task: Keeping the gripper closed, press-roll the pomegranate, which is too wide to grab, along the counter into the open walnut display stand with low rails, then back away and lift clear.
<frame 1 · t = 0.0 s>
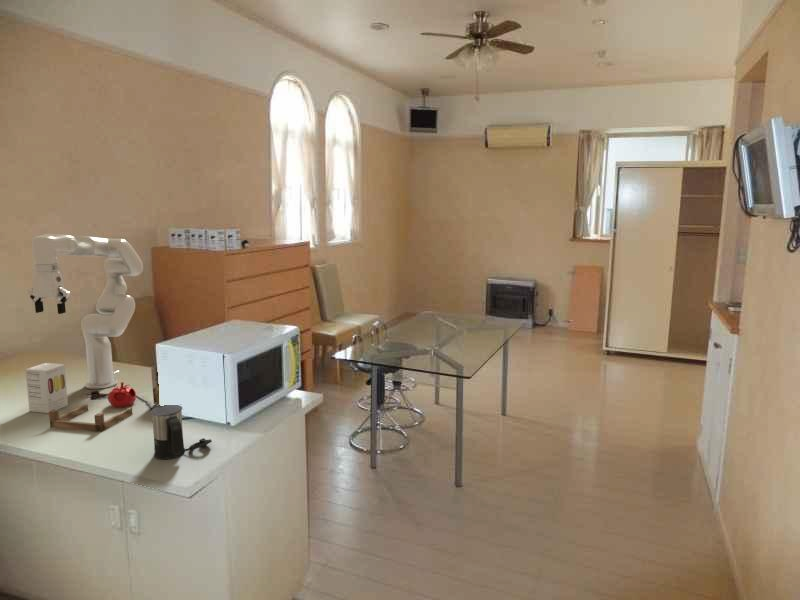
hand: (50, 312, 209), 37 cm above the countertop, tool pointing down, fingers open, 9 cm apart
supplement box: (49, 408, 210), on the countertop
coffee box: (167, 405, 216), on the countertop
display stand: (92, 420, 199), on the countertop
pomegranate: (122, 405, 215), on the countertop
milk frother: (183, 451, 176), on the countertop
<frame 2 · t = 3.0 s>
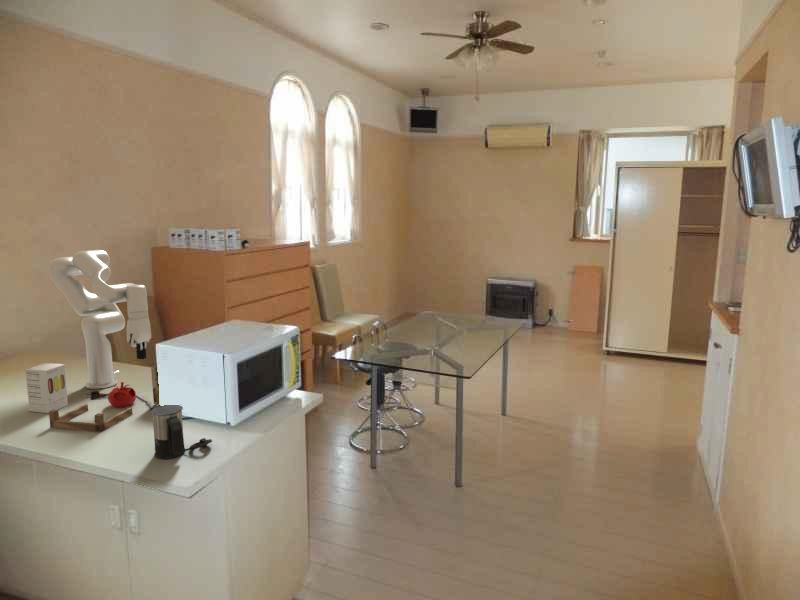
hand: (141, 358, 225), 15 cm above the countertop, tool pointing down, fingers closed
nothing on the countertop moved.
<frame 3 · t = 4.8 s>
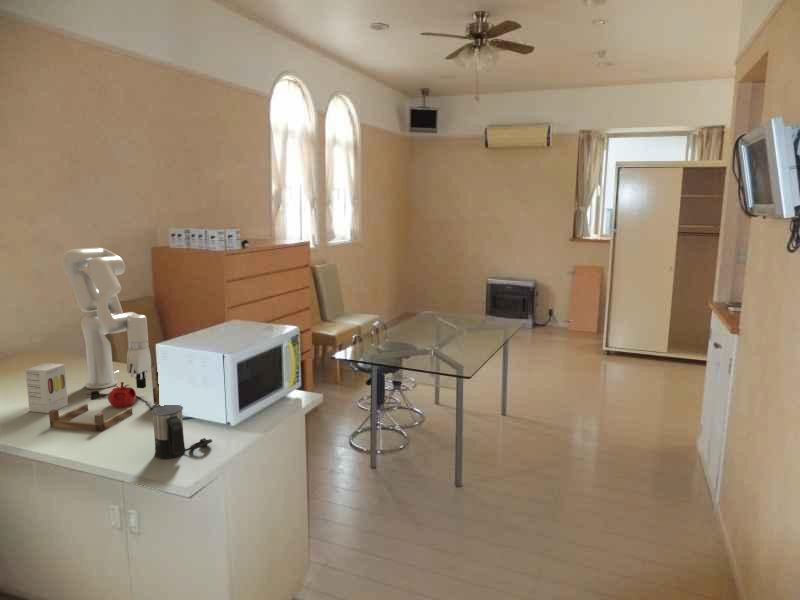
hand: (141, 387, 226), 3 cm above the countertop, tool pointing down, fingers closed
nothing on the countertop moved.
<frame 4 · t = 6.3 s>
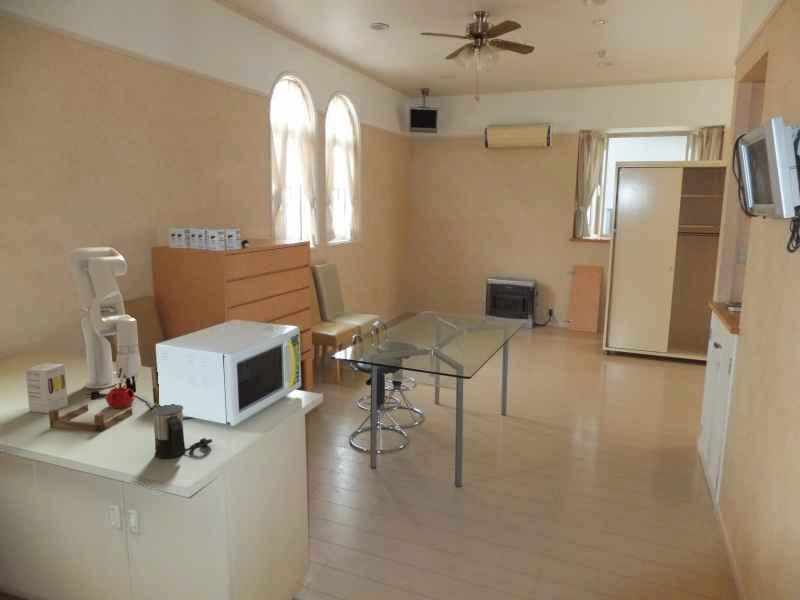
hand: (131, 392, 220), 3 cm above the countertop, tool pointing down, fingers closed
pomegranate: (120, 406, 214), on the countertop, touching gripper
everything else where it was.
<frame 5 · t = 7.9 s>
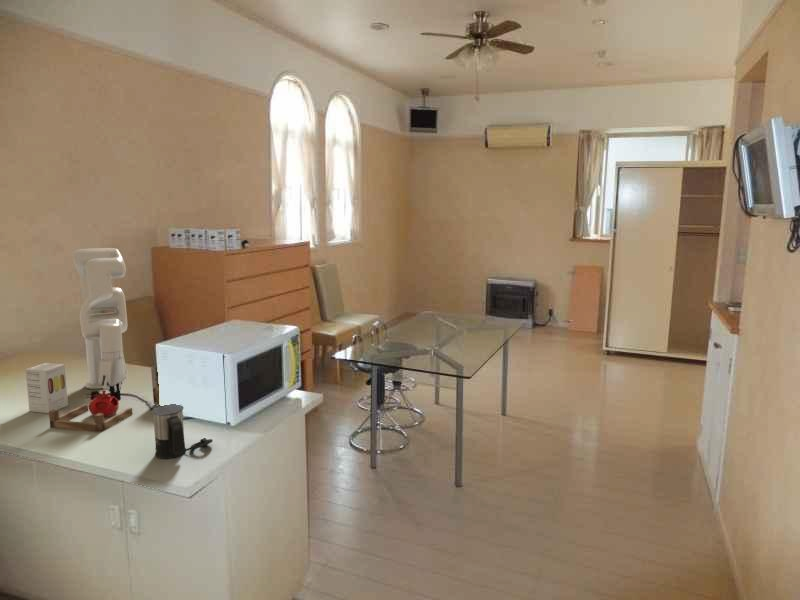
hand: (115, 400, 211), 3 cm above the countertop, tool pointing down, fingers closed
pomegranate: (104, 415, 205), on the countertop, touching gripper
everything else where it was.
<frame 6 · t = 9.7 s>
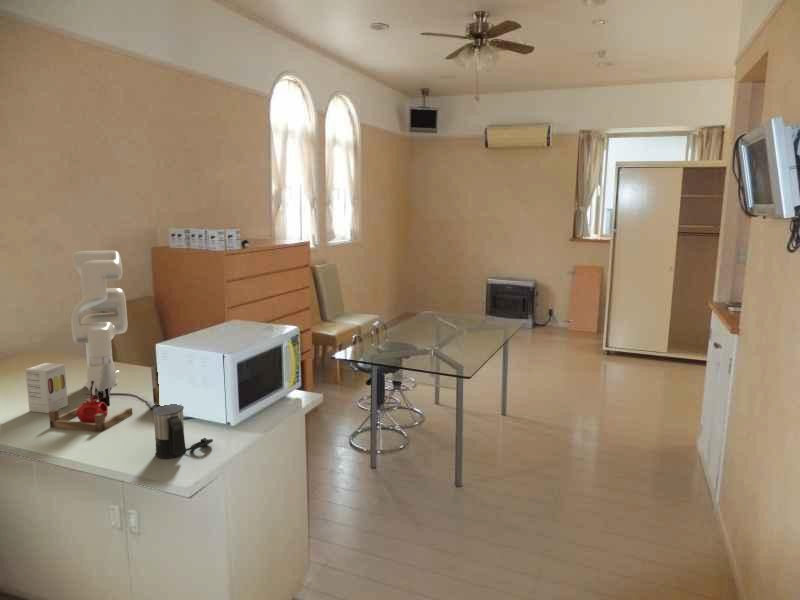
hand: (104, 406, 205), 3 cm above the countertop, tool pointing down, fingers closed
pomegranate: (93, 421, 199), on the countertop, touching gripper
everything else where it was.
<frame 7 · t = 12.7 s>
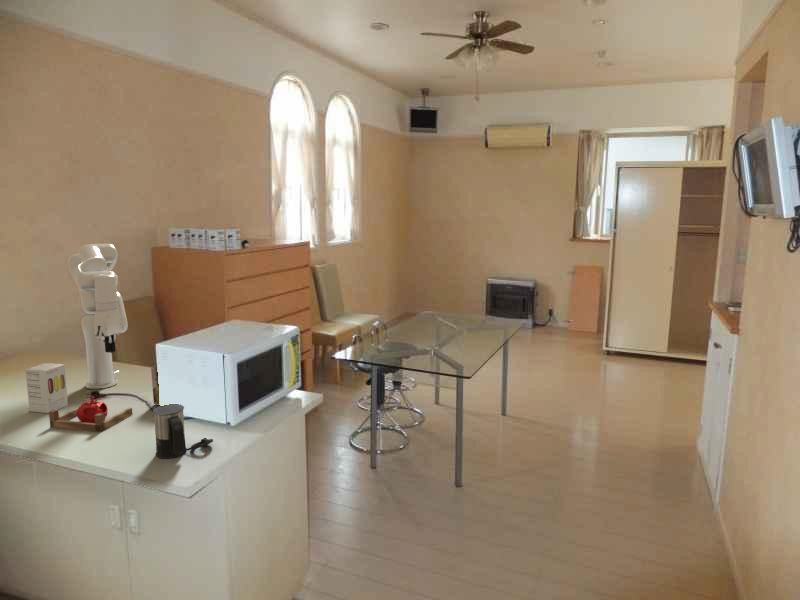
hand: (110, 351, 213), 21 cm above the countertop, tool pointing down, fingers closed
pomegranate: (93, 421, 199), on the countertop
everything else where it was.
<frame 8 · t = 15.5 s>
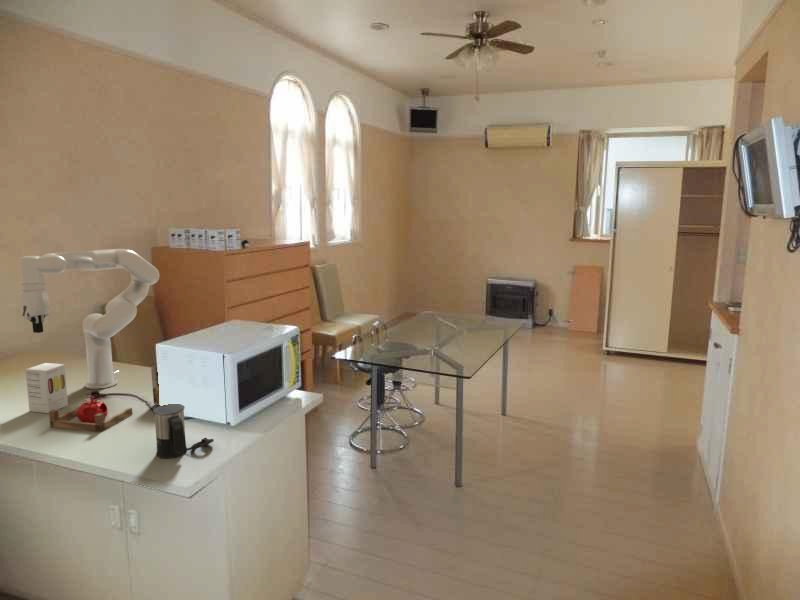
hand: (38, 332, 219), 27 cm above the countertop, tool pointing down, fingers closed
nothing on the countertop moved.
at the end: pomegranate inside the target area on the display stand (1.1 cm from its centre), point 0.0 cm above the display stand's base; pomegranate moved 16.6 cm from its start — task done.
